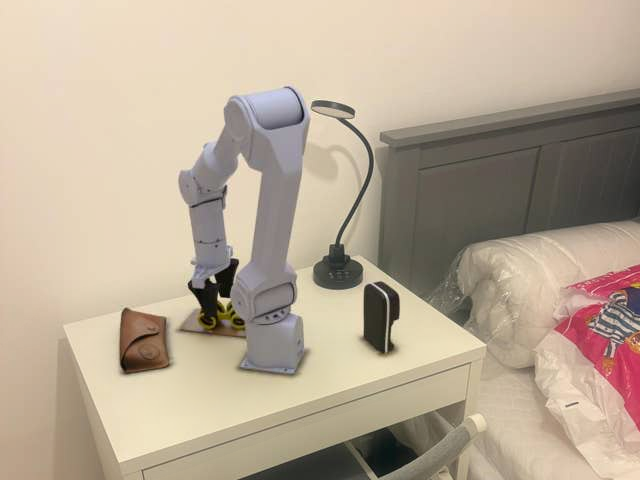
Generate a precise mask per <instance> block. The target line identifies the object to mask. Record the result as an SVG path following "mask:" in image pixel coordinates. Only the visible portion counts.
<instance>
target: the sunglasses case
mask: <svg viewBox="0 0 640 480" xmlns="http://www.w3.org/2000/svg"><path fill="white" fill-rule="evenodd" d="M119 323H120V325H119V367H120V369H122V370H123V371H124V372H125V373H127V374H130V373H140V372H147V371H153V370H158V369H162V368H166V367H167V366H170V363H171V362H170V358H169V354H168V349H167V341H166V340H167V339H166V325H167V317H166V316H163V315H156V314H153V313H152V314H150V313H148V312H147V313H146V312H143V311H142V312H141V311H138V310H137V311H136V310H133V309H130V308H129V307H124V308H123V309H122V311H121V314H120V322H119Z"/></svg>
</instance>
